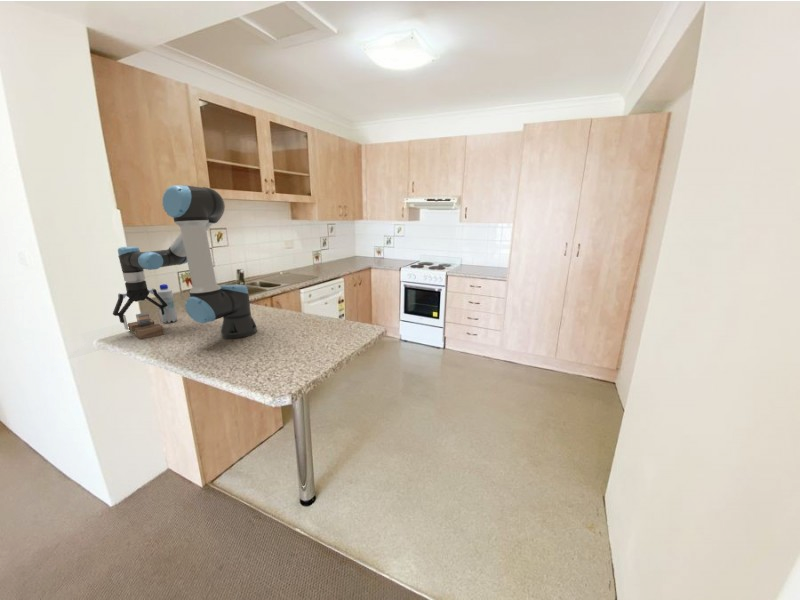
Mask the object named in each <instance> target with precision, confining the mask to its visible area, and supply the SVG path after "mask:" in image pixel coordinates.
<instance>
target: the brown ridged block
mask: <svg viewBox="0 0 800 600" xmlns="http://www.w3.org/2000/svg"><path fill="white" fill-rule="evenodd" d="M150 322H151V325H149V326H144V327H140V328H139V327H138V322H137V321H133V322H132V321H131V322H127V323H128V324H127V325H128V327H129V328H128V331H129V330H130V331H129V333H130V334H132V335H133V336H135V337H137V339H138V340H145V339H150V338H154V337H158V336H162V335H164V334H165V331H164V328H163V325H161V324H160V323H155V321H154V319H151V318H150ZM153 336H154V337H153Z"/></svg>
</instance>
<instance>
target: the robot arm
mask: <svg viewBox="0 0 800 600" xmlns="http://www.w3.org/2000/svg"><path fill="white" fill-rule="evenodd" d="M162 206H163V210H164V211H165V213H166V214H167V215H168V216H169V217H171V218H173V223H175V224H176V225H177V226H179V227H180V233H179V234H178V236H177V237H176V238H175V240H173V242H172V243H171V245H170V246H169V248H168V249H163V250H162V249H161V250H152V251H151V250H150V251H140V248H139V247H138V246H120V247H118V248H117V253H118V259H119V264H120V267H121V272H122V275H123V276H122V277H123V281H124V282H125V283H124V285H125V291H126V293H118V294H117V298H118V299H117V302H116V304H115V306H114V309H113V311H112V315H113V316H115V317H118V318H119V322H120V323H121V324H123V327H124V330H126V331H129V328H128V324H127V323H128V322H127V318H126V317H127V316H126V315H125V313H126V312H127V310H128V309H129V308H130V306H131V305H132V304H133V303H134V302H140V301H141V302H143V301H146V300H147V301H149V302H150V303H152V304H153V305H155V306H156V307H157V309H156V310H157V315H158V318H159V322H160V323H165V322H164V321H163V316H162V315H164V307H166V306H167V304H166V303H165V301H164V300H163V299H162V298H161V297H160V296H159V295H158V291H157V289H155V288H151V289H148V286H147V281H146V276H145V271H144V270H147V271H149V270H150V271H151V270H158V269H160V268H166V267H171V266H181V265H184V264H187V267H188V271H189V277H190V281H191V285H192V287H191V288H190V290H189V297H188V298H187V299H186V300H185V302H184V308H185V311H186V313H187V315H188V316H189V318H191V319H192V320H193V321H194V322H196V323H199V324H207V323H211V322H212V323H213V322H214V321H216V320H219V319H222V320H223V321H222V324H221V329H220V334H221V337H222V338H224V339H242V338H246V337H249V336H252V335H254V334H257V332H258V329H257V328H258V326H257V324H256V322H255V320H254V318H253V316H252V312H251V305H250V304H251V303H250V294H249V290H248V287H247V286H246V285H244V284H221V285H219V284H217V279H216V275H215V270H214V264H213V259H212V253H211V248H210V243H209V239H208V230H209V229H210V228H211V226H212V225H213V224H214V225H215V224H217V223H218V222H219V221H220V220H221V218H222V217H223V216H224V213H225V208H226V206H225V201H224V199H223V197H222V195H221V194H220V193H219V192H218V191H216V190H215V189H213V188H210V187H204V186H203V187H201V186H193V185H184V184H181V185H177V184H175V185H174V184H173V185H171V186H169V187H168V188H167V189H165V191H164V194H163V196H162ZM150 294H152V295H153V296H154V297H155V298H156V299H157V300H158V302H157V301H155V300H154V299H153V298H151V297H149V295H150ZM126 297H127V298H128V299H127V301H126V302H125V304H124V306H122V304H123V303H124V302H123V301H124V299H126ZM159 301H160V302H161V303H162V305H160V302H159ZM121 307H122V308H121Z"/></svg>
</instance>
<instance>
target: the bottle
mask: <svg viewBox="0 0 800 600" xmlns="http://www.w3.org/2000/svg"><path fill="white" fill-rule="evenodd" d="M157 294H158V295H159V296H160V297H161V298H162V299H163V300H164V301H165V303H166V304H167V306H166V307H164V315H162V316H163V321H164V322H163V323H165V324H167V323H169V324H171V322H172V323H175V322H177V321H178V316H177V311H176V307H175V301H174V293H173V291H172V289H170V288H169V285H168V284H167V283H165V284H164V283H163V284H160V285H159V290H158V291H157ZM158 303H159V304H160V305H162V303H161V302H160V301H159V300H158Z"/></svg>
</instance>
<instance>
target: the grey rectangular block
mask: <svg viewBox="0 0 800 600" xmlns="http://www.w3.org/2000/svg"><path fill="white" fill-rule="evenodd" d="M135 317H136V318H135V319H136V322H138V327H139V328H140V327H144V326H149V325H151V322H150V319H151V316H150V314H149V313H148V312H143V313H137V314H135Z"/></svg>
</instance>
